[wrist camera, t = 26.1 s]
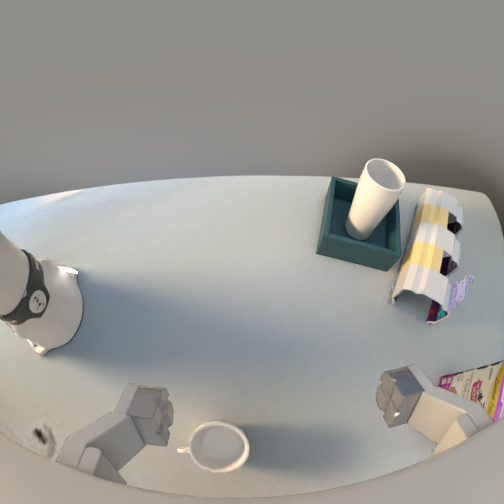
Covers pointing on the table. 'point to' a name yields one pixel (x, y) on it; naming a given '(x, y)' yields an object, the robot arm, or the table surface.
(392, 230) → the bin
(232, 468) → the teacup
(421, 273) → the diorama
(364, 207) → the drinking glass
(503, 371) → the candy bar box
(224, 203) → the table surface
